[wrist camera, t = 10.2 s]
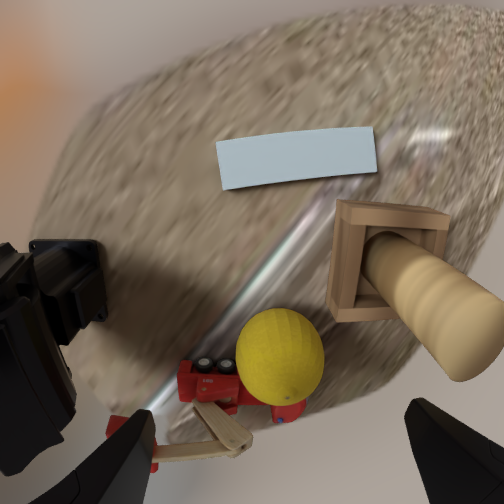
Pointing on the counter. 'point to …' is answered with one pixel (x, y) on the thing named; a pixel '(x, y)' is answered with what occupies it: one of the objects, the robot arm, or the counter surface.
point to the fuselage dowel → (436, 304)
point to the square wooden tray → (351, 247)
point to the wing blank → (296, 156)
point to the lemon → (279, 357)
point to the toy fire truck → (213, 412)
